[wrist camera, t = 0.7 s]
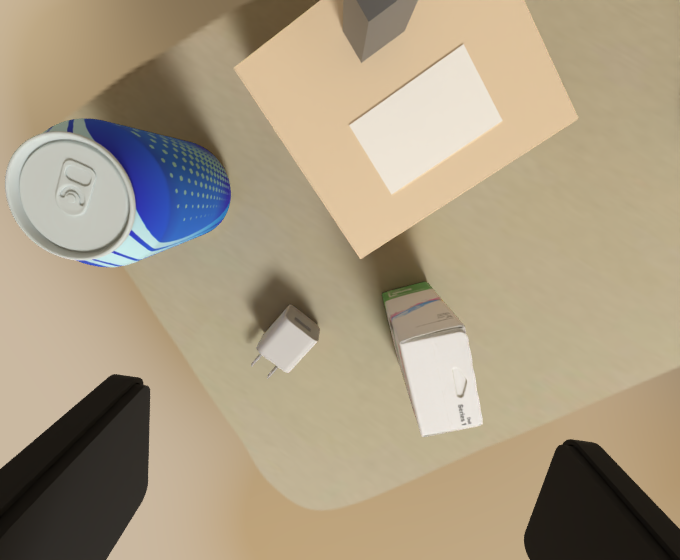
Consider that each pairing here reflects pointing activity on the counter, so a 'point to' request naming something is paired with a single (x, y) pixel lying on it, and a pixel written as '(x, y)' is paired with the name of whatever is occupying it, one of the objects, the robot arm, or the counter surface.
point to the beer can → (113, 191)
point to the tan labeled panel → (405, 103)
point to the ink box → (433, 360)
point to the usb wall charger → (288, 339)
